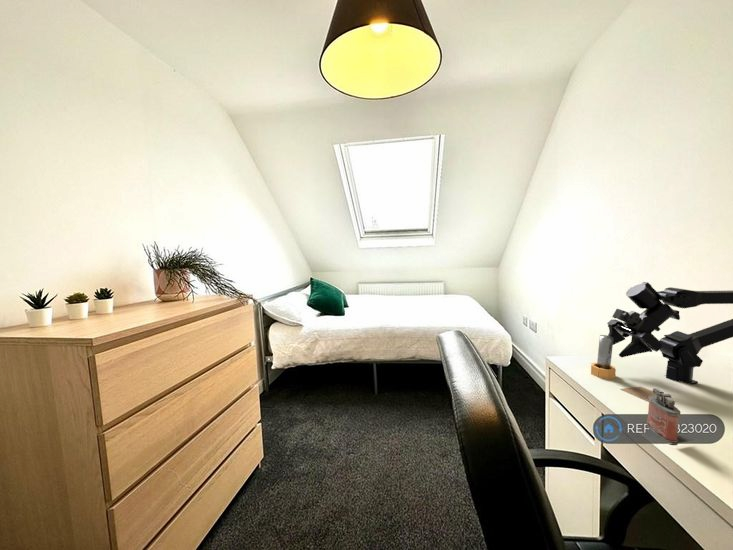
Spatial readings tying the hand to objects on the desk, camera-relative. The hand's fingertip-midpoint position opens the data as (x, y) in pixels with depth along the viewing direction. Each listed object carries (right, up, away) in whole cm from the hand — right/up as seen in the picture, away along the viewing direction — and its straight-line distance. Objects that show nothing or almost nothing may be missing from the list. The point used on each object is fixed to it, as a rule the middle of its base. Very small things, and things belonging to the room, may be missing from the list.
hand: (611, 351), depth 108 cm
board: (0, -10, -13) cm, 16 cm away
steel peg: (-2, -8, +1) cm, 8 cm away
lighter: (-12, -12, -32) cm, 36 cm away
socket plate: (-2, -9, +1) cm, 9 cm away
